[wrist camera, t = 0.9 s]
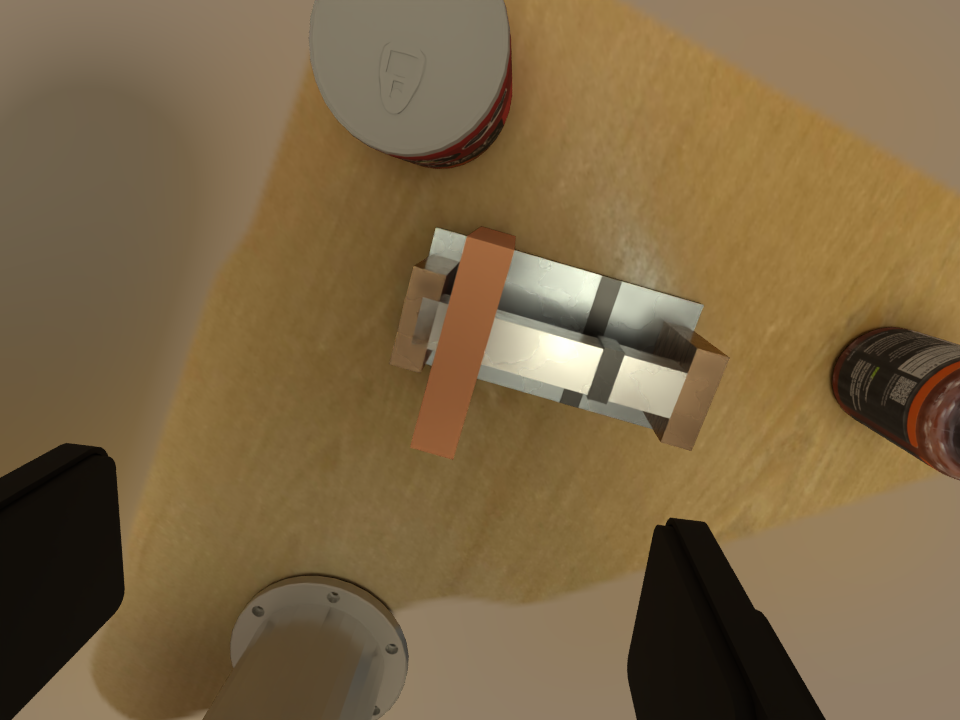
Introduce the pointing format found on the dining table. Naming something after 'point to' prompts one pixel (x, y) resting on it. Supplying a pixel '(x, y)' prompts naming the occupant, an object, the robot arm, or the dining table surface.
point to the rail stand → (575, 340)
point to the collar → (463, 340)
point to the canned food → (415, 74)
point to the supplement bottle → (905, 392)
